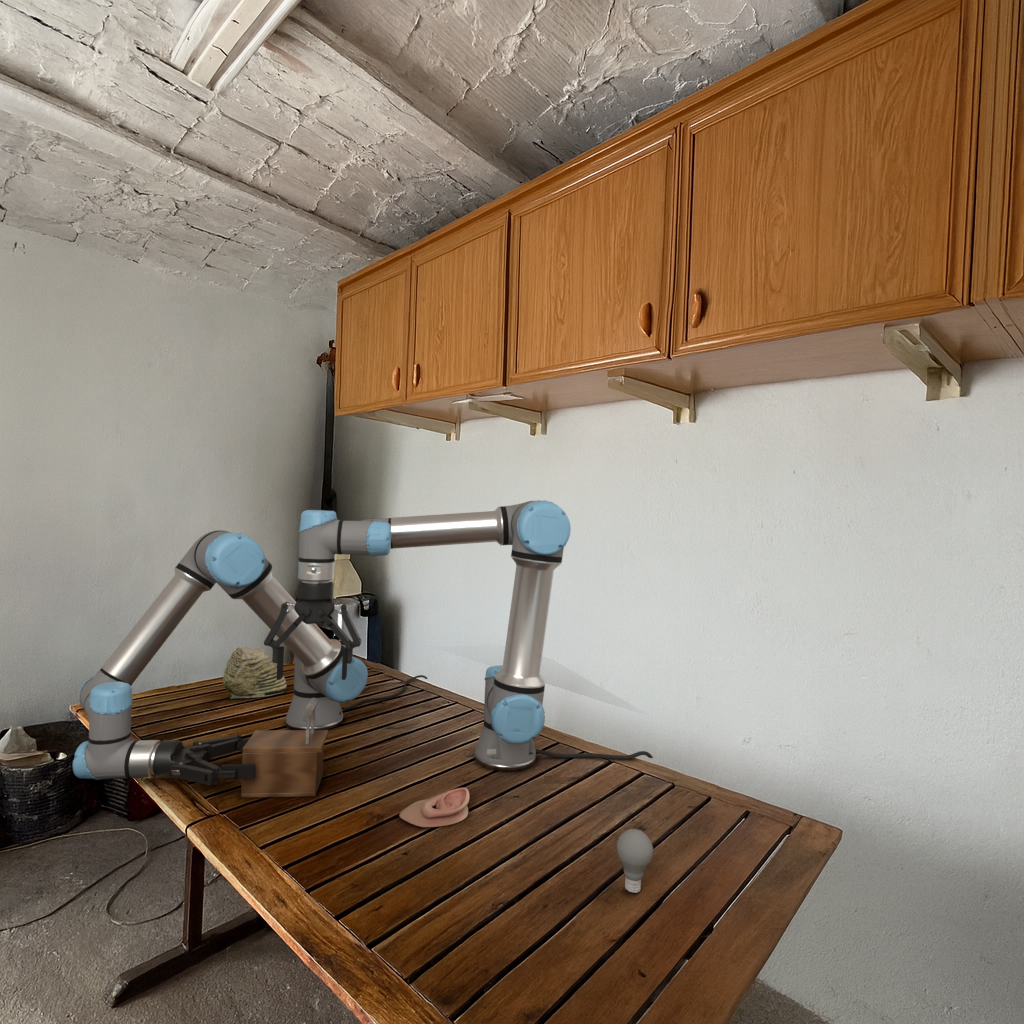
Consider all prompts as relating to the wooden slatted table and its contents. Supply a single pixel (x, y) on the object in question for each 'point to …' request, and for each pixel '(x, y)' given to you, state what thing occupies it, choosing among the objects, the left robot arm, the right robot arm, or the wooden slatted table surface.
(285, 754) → the chest
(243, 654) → the fossil
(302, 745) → the lid
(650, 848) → the light bulb
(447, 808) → the anatomical model
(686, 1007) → the wooden slatted table surface
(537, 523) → the right robot arm
